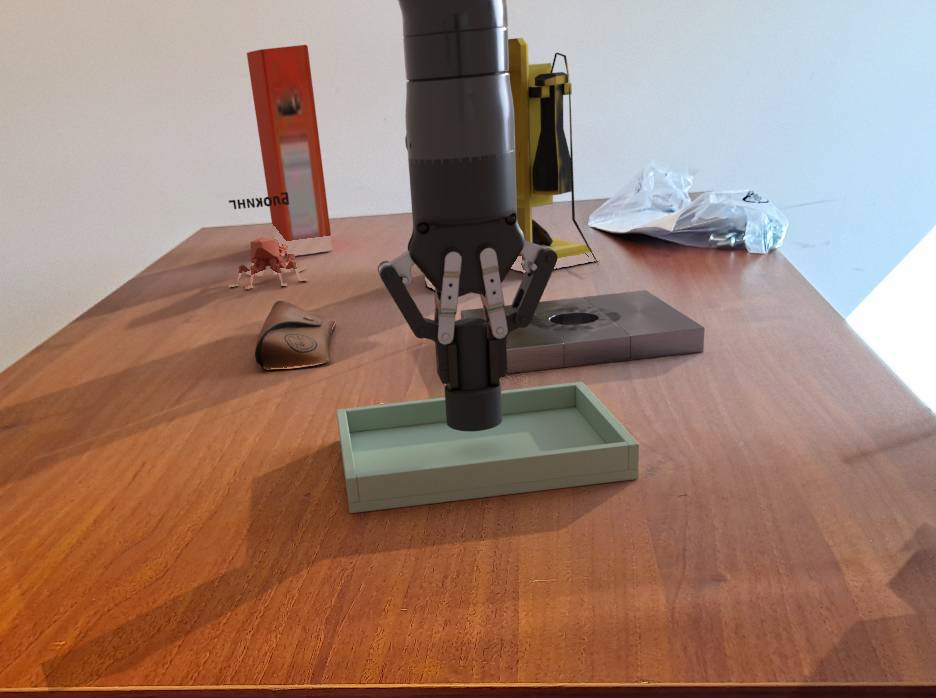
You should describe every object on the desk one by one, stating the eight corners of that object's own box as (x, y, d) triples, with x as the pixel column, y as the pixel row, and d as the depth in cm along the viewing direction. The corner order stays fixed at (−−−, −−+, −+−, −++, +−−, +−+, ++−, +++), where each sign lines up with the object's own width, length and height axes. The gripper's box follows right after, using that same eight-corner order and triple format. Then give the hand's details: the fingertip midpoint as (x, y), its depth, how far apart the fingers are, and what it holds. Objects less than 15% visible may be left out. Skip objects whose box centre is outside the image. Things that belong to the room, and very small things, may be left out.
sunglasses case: (334, 360, 105) (295, 310, 103) (283, 397, 107) (244, 349, 104) (337, 320, 121) (304, 276, 119) (293, 353, 123) (259, 310, 121)
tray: (581, 411, 86) (582, 381, 85) (638, 479, 72) (639, 443, 71) (339, 439, 85) (336, 409, 84) (349, 513, 71) (345, 478, 70)
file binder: (286, 258, 166) (258, 49, 152) (273, 243, 181) (246, 51, 167) (332, 251, 168) (309, 44, 153) (315, 237, 183) (292, 47, 168)
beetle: (306, 285, 144) (295, 196, 139) (224, 292, 145) (210, 204, 139) (316, 265, 158) (306, 183, 152) (241, 272, 158) (228, 190, 153)
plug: (496, 410, 79) (492, 312, 76) (507, 428, 75) (503, 325, 72) (443, 416, 79) (436, 318, 75) (451, 434, 75) (444, 332, 72)
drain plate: (645, 311, 115) (646, 289, 114) (703, 351, 99) (705, 327, 98) (461, 331, 114) (460, 310, 113) (490, 376, 98) (488, 351, 97)
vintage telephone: (643, 270, 134) (650, 25, 121) (559, 287, 129) (557, 34, 116) (520, 243, 160) (514, 38, 147) (446, 256, 155) (433, 46, 142)
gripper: (365, 162, 64) (388, 410, 72) (572, 142, 65) (573, 390, 73) (358, 153, 71) (380, 381, 79) (546, 134, 72) (549, 362, 80)
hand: (472, 384), depth 76 cm, fingers closed on plug, 2 cm apart
